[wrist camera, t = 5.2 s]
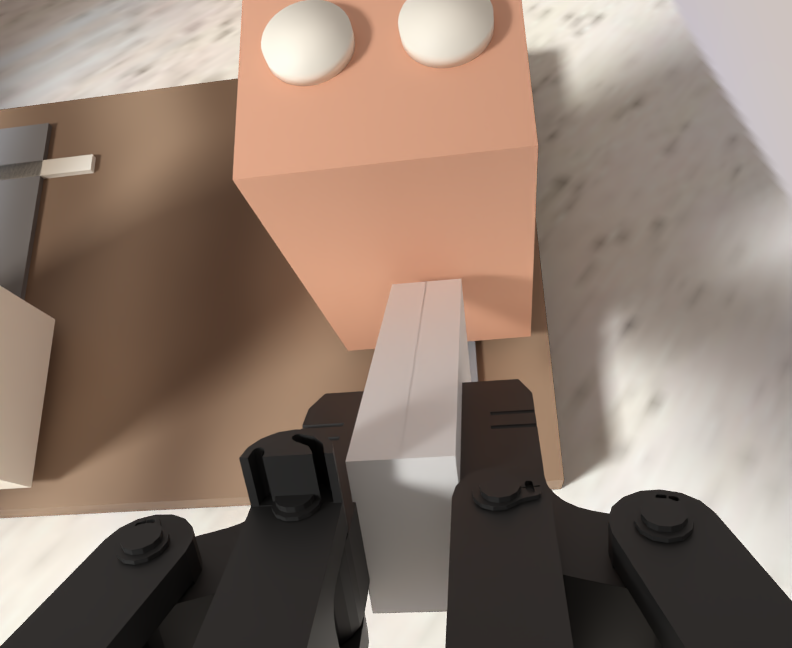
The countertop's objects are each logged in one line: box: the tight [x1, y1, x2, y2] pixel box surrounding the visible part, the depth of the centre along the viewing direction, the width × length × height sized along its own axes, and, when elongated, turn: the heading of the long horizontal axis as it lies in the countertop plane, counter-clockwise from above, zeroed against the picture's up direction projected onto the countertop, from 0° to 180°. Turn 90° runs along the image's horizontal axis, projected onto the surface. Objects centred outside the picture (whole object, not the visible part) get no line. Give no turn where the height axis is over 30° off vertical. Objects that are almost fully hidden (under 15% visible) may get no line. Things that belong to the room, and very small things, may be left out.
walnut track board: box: [0, 79, 564, 518], centre depth 24 cm, size 20×14×2 cm
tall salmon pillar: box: [233, 0, 538, 351], centre depth 17 cm, size 5×5×9 cm
